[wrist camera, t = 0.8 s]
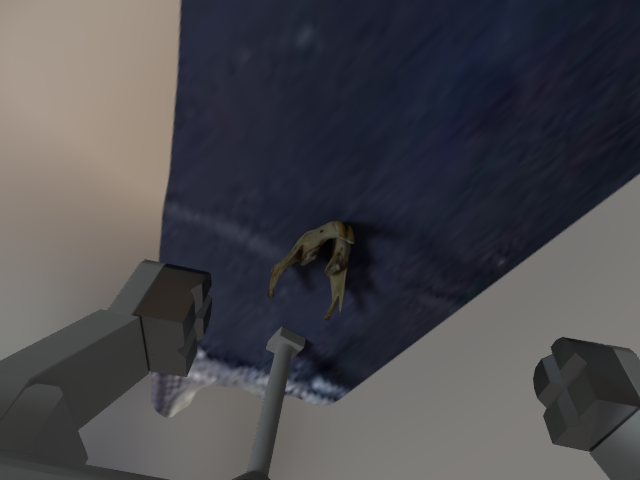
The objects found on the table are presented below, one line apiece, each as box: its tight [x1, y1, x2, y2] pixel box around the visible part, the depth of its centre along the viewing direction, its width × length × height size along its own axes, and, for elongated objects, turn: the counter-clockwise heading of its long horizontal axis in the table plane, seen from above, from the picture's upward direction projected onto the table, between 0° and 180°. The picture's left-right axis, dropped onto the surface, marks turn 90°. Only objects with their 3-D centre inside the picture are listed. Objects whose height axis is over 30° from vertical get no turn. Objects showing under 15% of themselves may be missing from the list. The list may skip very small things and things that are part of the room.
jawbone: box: [268, 221, 354, 320], centre depth 49 cm, size 9×15×10 cm
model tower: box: [232, 327, 305, 480], centre depth 53 cm, size 8×8×30 cm
